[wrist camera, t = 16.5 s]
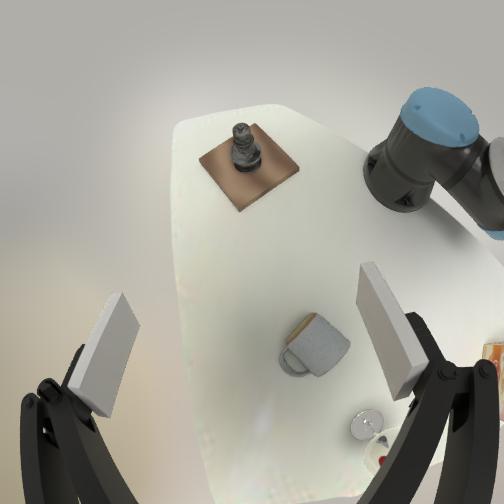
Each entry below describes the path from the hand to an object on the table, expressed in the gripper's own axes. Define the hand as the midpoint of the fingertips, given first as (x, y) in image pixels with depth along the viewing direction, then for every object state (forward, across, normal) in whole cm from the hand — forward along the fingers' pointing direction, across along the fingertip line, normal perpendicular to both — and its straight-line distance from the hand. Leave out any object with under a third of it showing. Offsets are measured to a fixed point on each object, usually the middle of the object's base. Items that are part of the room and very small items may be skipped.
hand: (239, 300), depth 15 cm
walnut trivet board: (+43, 0, -4) cm, 43 cm away
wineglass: (+6, +16, -40) cm, 44 cm away
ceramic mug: (+18, +7, -29) cm, 34 cm away
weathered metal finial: (+42, 0, -3) cm, 42 cm away
